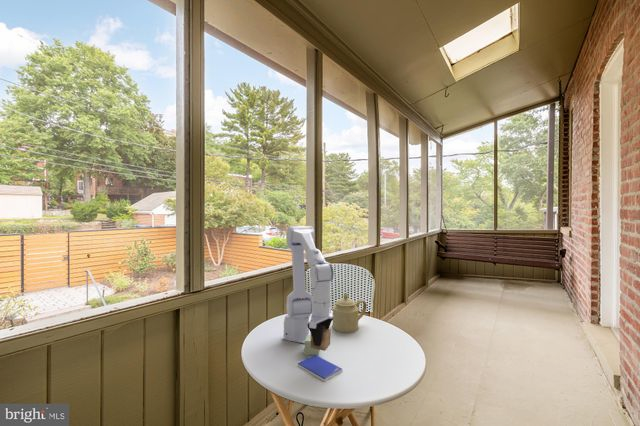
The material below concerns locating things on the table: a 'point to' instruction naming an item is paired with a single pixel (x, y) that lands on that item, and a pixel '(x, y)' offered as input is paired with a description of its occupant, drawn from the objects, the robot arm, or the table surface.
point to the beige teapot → (347, 314)
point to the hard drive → (320, 367)
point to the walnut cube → (323, 340)
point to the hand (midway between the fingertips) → (320, 341)
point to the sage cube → (308, 347)
